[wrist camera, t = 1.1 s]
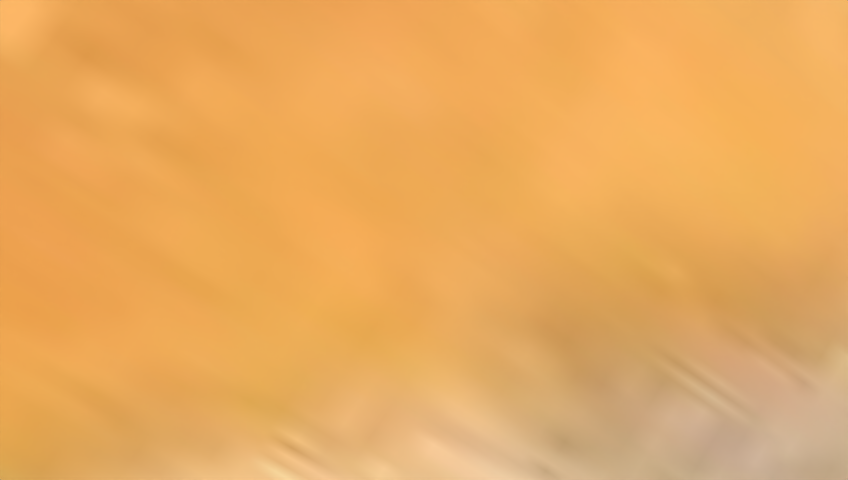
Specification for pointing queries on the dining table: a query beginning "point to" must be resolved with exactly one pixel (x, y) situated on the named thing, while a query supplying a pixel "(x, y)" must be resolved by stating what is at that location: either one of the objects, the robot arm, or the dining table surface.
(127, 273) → the dining table surface
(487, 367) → the dining table surface
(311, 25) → the dining table surface
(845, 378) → the dining table surface
